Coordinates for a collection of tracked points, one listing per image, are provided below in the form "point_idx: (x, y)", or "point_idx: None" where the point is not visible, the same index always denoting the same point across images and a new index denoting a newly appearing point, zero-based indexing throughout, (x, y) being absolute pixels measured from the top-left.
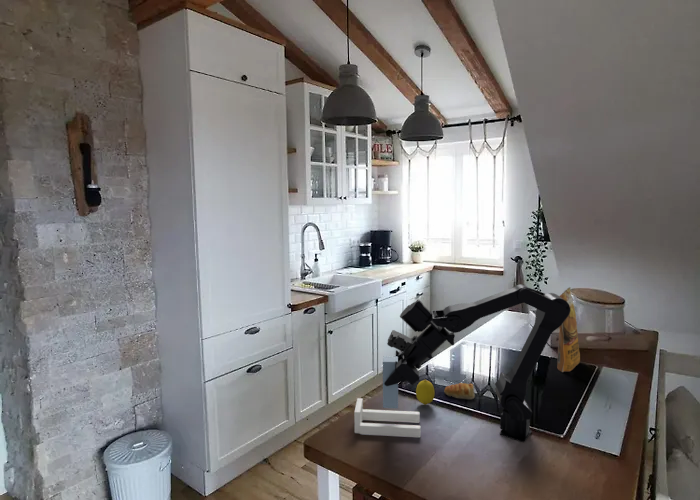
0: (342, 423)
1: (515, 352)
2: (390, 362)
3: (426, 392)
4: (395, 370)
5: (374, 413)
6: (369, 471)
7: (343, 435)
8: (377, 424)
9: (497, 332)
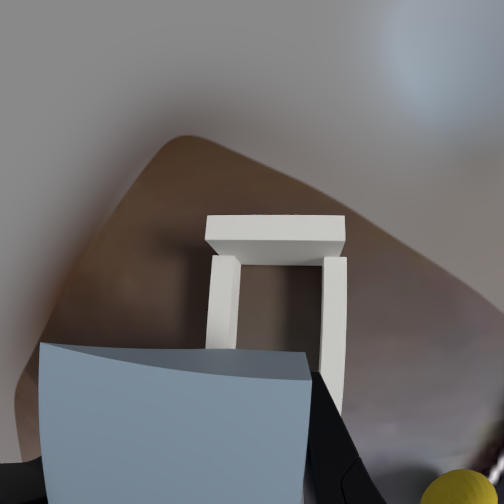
0: (292, 197)
1: None
2: (47, 459)
3: None
4: (25, 464)
5: (323, 309)
6: (60, 298)
7: (215, 211)
8: (222, 324)
9: None
